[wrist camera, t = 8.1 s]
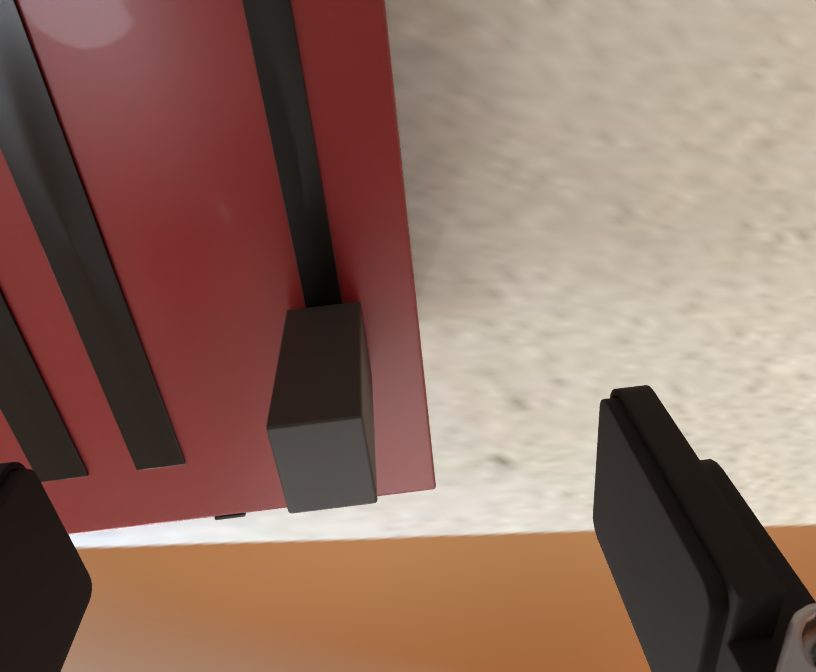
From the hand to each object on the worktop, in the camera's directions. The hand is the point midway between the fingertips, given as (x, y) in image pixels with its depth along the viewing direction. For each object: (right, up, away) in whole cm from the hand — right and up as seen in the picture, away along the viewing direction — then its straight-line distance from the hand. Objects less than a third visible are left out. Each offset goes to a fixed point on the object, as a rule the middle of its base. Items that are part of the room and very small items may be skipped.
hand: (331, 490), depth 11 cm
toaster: (-5, +9, +10) cm, 14 cm away
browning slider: (0, +2, +4) cm, 4 cm away
